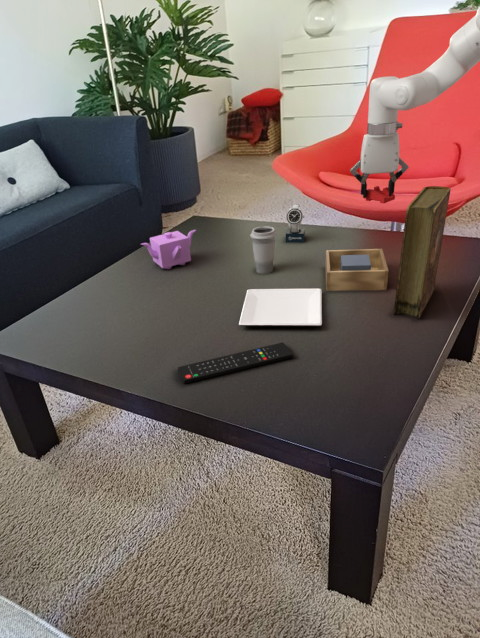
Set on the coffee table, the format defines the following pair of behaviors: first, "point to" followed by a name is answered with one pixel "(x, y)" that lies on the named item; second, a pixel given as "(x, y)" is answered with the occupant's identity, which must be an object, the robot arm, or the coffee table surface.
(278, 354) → the remote control
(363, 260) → the grey block
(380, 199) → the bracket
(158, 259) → the teapot
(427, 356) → the coffee table surface
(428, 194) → the book
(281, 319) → the plate
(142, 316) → the coffee table surface
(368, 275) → the crate
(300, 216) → the watch
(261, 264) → the cup
